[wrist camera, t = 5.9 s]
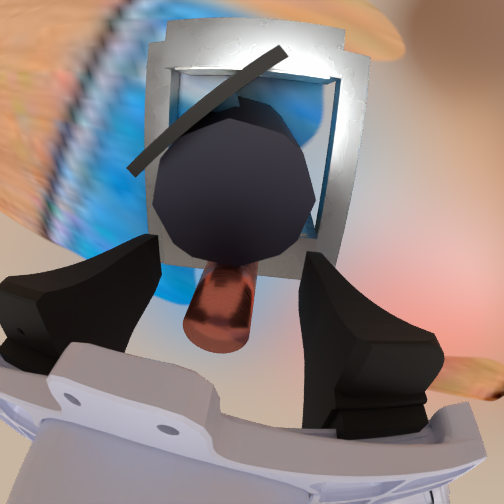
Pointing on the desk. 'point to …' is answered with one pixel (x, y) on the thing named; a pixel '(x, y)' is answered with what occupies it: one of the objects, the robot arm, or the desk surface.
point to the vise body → (292, 68)
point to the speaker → (231, 176)
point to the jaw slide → (232, 291)
